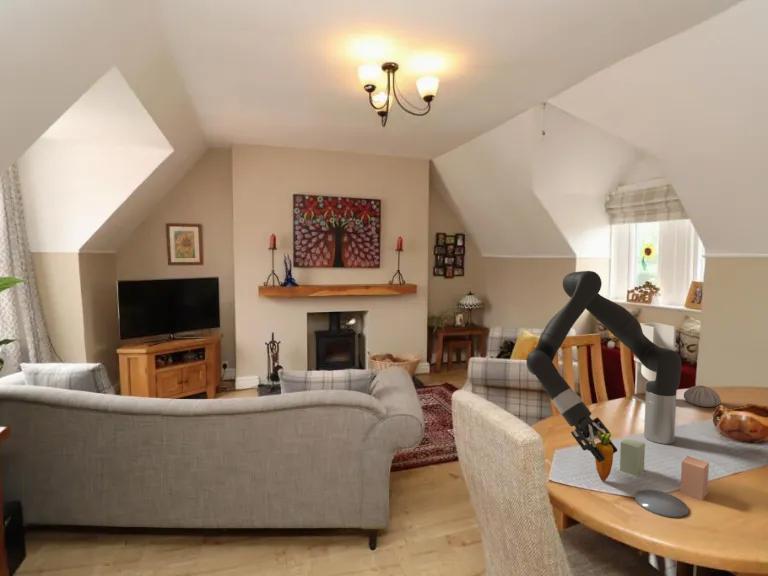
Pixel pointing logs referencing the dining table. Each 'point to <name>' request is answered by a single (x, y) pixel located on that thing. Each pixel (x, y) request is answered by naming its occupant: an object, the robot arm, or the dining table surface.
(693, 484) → the terracotta block
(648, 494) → the slate coaster
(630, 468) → the sage block
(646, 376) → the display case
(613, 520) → the dining table surface
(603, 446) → the carrot
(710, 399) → the sea urchin shell
